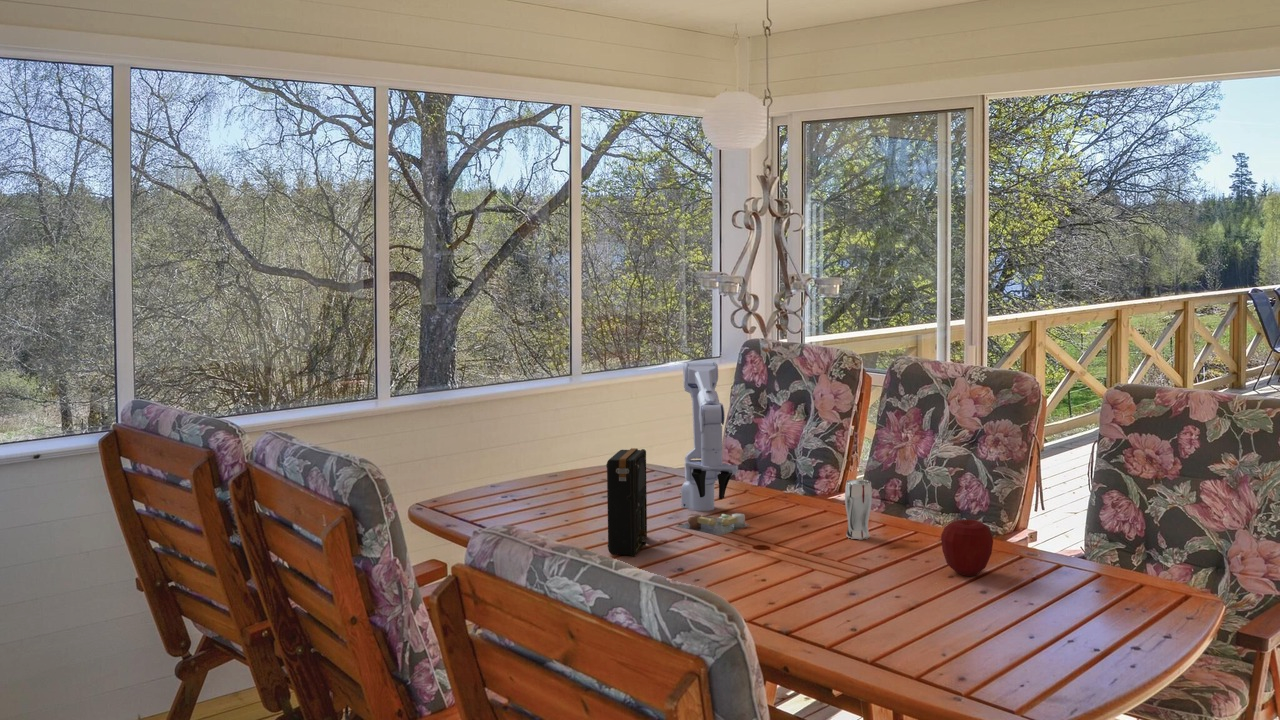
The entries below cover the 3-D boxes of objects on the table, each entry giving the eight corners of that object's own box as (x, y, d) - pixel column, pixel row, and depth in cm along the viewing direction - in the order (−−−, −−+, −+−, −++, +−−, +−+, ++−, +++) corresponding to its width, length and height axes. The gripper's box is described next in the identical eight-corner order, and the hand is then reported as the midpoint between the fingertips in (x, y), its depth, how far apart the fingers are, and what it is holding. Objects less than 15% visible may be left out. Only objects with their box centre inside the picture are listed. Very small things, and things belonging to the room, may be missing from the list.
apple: (952, 562, 249) (953, 509, 248) (999, 571, 242) (1001, 516, 241) (932, 574, 240) (933, 519, 239) (980, 584, 233) (982, 527, 231)
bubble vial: (717, 521, 285) (717, 514, 285) (722, 520, 287) (722, 512, 287) (729, 524, 283) (729, 516, 283) (734, 522, 285) (734, 514, 284)
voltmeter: (639, 557, 256) (637, 459, 254) (605, 556, 258) (604, 458, 255) (650, 540, 271) (649, 448, 269) (619, 539, 273) (617, 447, 271)
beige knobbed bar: (685, 526, 280) (685, 515, 280) (693, 524, 283) (693, 512, 283) (711, 532, 275) (711, 520, 274) (719, 529, 277) (719, 517, 277)
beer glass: (841, 538, 271) (841, 483, 270) (848, 532, 277) (849, 478, 276) (867, 542, 268) (867, 485, 267) (874, 535, 274) (874, 480, 273)
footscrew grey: (736, 523, 283) (736, 511, 283) (747, 525, 281) (747, 513, 281) (717, 530, 277) (717, 518, 276) (728, 532, 274) (728, 520, 274)
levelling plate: (676, 530, 281) (676, 526, 281) (706, 520, 292) (706, 516, 292) (720, 540, 271) (720, 535, 271) (750, 529, 282) (750, 524, 282)
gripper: (681, 449, 277) (681, 498, 279) (731, 452, 271) (731, 503, 273) (691, 444, 284) (691, 492, 285) (740, 448, 278) (740, 497, 279)
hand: (711, 497), depth 279 cm, fingers open, 5 cm apart
